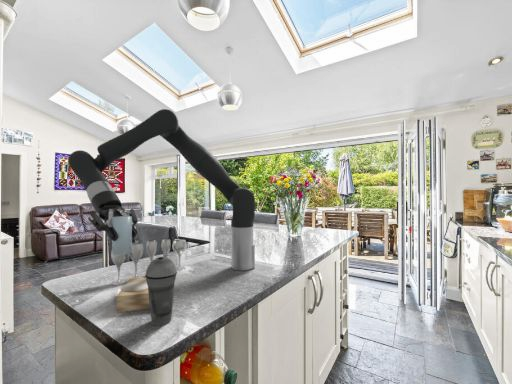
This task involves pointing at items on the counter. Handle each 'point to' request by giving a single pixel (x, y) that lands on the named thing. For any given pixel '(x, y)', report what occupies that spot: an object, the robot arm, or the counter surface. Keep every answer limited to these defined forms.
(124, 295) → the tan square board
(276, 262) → the counter surface
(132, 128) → the robot arm
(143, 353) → the counter surface
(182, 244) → the goblet set
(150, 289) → the beverage cup
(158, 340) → the counter surface
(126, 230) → the pale blue domed cylinder
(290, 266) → the counter surface
